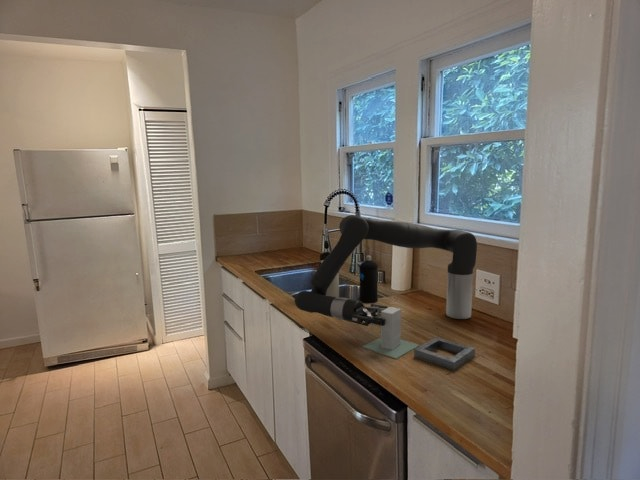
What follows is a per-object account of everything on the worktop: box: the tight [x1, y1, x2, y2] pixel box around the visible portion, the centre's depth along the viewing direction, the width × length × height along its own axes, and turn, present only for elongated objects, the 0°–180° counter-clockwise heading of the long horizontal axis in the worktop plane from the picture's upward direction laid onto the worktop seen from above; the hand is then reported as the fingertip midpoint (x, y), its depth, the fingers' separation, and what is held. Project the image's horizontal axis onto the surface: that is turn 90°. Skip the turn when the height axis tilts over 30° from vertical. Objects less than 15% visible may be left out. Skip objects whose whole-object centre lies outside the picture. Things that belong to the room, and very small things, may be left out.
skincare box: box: [380, 306, 402, 350], centre depth 132 cm, size 6×4×12 cm
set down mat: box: [362, 336, 421, 360], centre depth 133 cm, size 13×13×1 cm
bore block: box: [413, 336, 476, 372], centre depth 125 cm, size 13×13×2 cm
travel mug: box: [320, 259, 340, 298], centre depth 180 cm, size 8×8×18 cm
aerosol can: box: [358, 255, 379, 304], centre depth 180 cm, size 8×8×20 cm
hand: (390, 318), depth 131 cm, fingers open, 8 cm apart
